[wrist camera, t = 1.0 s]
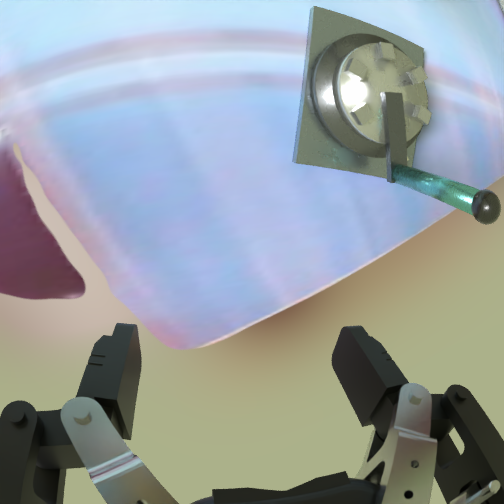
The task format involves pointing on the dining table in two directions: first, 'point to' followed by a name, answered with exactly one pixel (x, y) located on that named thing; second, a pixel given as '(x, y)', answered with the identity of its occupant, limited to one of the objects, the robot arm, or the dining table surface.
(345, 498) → the robot arm
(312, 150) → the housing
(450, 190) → the crank handle wheel
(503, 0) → the beige piece
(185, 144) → the dining table surface
